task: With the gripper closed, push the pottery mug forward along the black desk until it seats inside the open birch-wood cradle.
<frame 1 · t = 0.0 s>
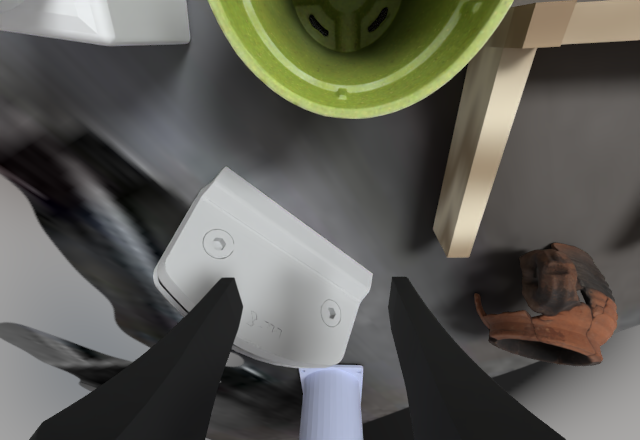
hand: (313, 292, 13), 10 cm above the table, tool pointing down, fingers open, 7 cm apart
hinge: (281, 249, 25), on the table
cradle: (588, 144, 18), on the table
pottery mug: (523, 272, 25), on the table
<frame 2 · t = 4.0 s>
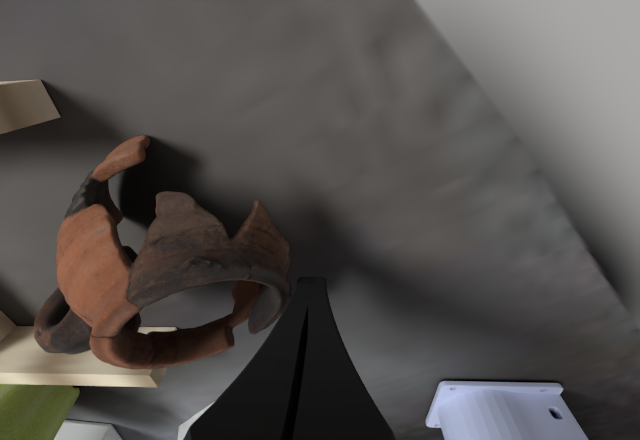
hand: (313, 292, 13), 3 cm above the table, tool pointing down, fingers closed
plant pot: (48, 379, 26), on the table
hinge: (247, 411, 28), on the table
cradle: (27, 250, 17), on the table
pottery mug: (190, 225, 15), on the table, touching gripper
medicine bottle: (92, 430, 33), on the table
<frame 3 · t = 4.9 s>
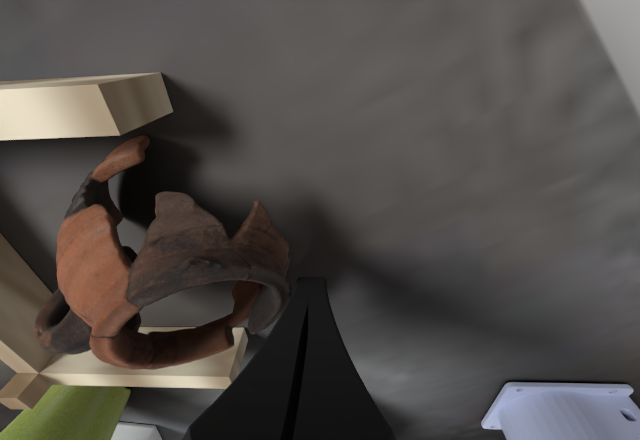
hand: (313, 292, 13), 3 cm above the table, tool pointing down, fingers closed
plant pot: (100, 380, 26), on the table
cradle: (107, 249, 16), on the table
pottery mug: (190, 225, 15), on the table, touching gripper
medicine bottle: (133, 431, 33), on the table
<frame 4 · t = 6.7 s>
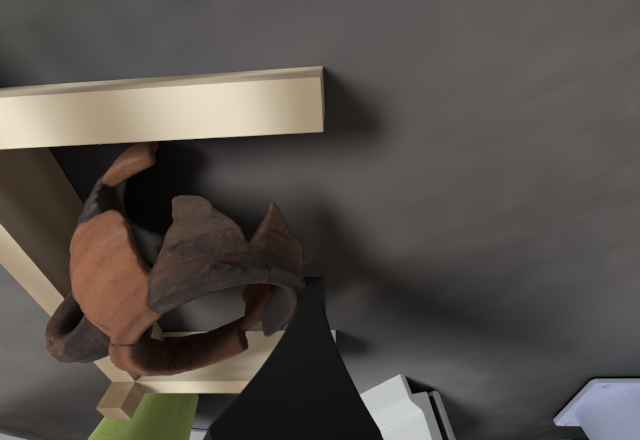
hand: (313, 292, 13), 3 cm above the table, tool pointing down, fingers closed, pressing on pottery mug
plant pot: (167, 386, 25), on the table
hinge: (364, 414, 28), on the table
cradle: (214, 252, 16), on the table
pottery mug: (199, 228, 15), on the table, touching cradle, gripper
medicine bottle: (188, 437, 32), on the table
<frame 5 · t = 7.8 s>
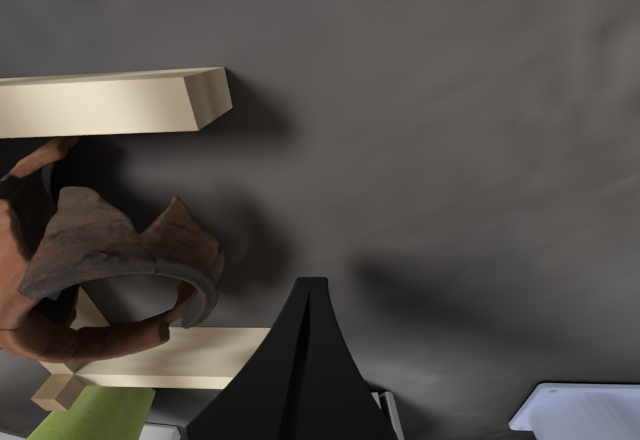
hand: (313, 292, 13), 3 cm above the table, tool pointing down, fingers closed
plant pot: (124, 380, 26), on the table
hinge: (324, 413, 28), on the table
cradle: (148, 247, 16), on the table
pottery mug: (132, 222, 15), on the table
medicine bottle: (153, 432, 32), on the table
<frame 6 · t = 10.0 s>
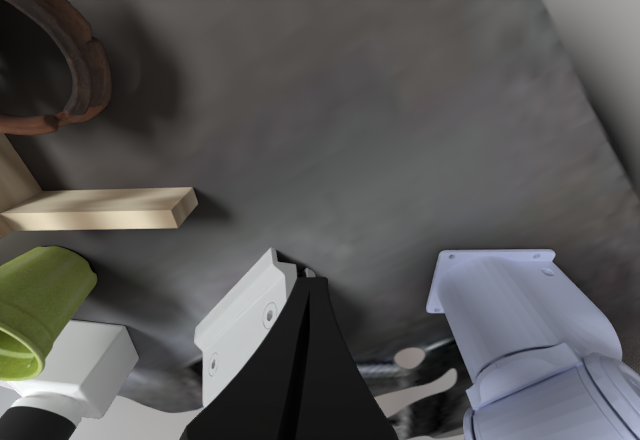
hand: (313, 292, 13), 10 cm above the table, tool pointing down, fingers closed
plant pot: (68, 266, 28), on the table
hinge: (260, 306, 30), on the table
cradle: (59, 87, 18), on the table
pottery mug: (34, 45, 17), on the table, touching cradle
medicine bottle: (106, 337, 34), on the table
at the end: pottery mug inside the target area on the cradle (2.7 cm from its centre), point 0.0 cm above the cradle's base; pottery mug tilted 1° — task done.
